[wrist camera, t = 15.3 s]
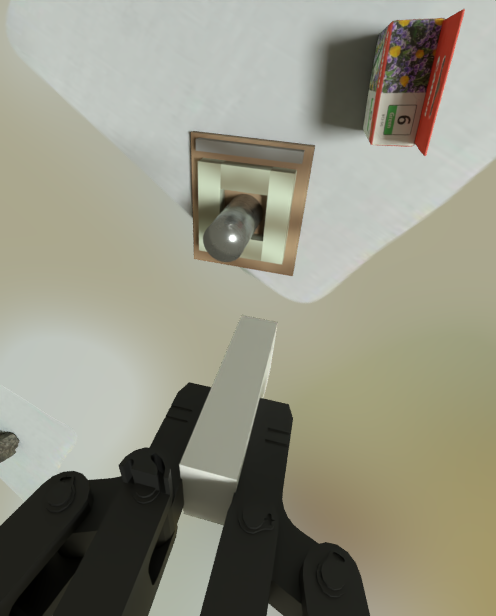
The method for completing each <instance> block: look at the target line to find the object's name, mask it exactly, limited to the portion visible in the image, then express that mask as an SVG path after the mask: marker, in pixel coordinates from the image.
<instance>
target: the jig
mask: <svg viewBox="0 0 496 616" xmlns="http://www.w3.org/2000/svg"><path fill="white" fill-rule="evenodd" d="M314 149H315V145H307V144H298V143H290V142H281V141H273V140H264V139H256V138H248V137H239V136H231V135H222V134H214V133H205V132H197V131H193V132H191V160H192V199H193V237H194V259H198V260H203V261H209V262H215V263H221V264H226V265H232V266H238V267H243V268H249V269H255V270H260V271H266V272H272V273H278V274H283V275H289V276H293V271H294V266H295V260H296V254H297V248H298V242H299V237H300V231H301V225H302V219H303V213H304V207H305V202H306V196H307V190H308V184H309V178H310V172H311V167H312V161H313V155H314ZM242 194H246V195H250V196H252V197H254V198H256V199H257V200H258V202H259V203H260V205H261V207H262V210H263V216H262V220H261V222H260V223H259V225H258V227H257V229H256V230H255V232H254V234H253V235H252V237H251V239H250V240H249V242H248V244H247V246H246V247H245V249H244V251H243V252H242V254H241V256H240V257H239V258H238V259H236V260H235V261H232V262H221V261H218V260H216V259H214V258H213V257H212V256H211V255H210V254H209V253H208V252H207V251H206V249H205V247H204V243H203V235H204V232H205V230H206V229H207V228H208V227H209V225H210V224H211V223H212V222H213V221H214V220H215V219H216V218H217V216H218V215H219V214H220V213H221V212H222V211H223V210H224V208H225V207H226V206H227V205H228V204H229V203H230V202H231V200H232V199H233V198H235V197H236V196H238V195H242Z"/></svg>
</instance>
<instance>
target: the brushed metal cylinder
mask: <svg viewBox="0 0 496 616" xmlns="http://www.w3.org/2000/svg"><path fill="white" fill-rule="evenodd" d="M262 216H263V210H262V207H261V205H260V203H259V202H258V200H257V199H256V198H254V197H252V196H250V195H246V194H242V195H238V196H236V197H235V198H233V199H232V200H231V202H230V203H229V204H228V205H227V206H226V207H225V208H224V210H223V211H222V212H221V213H220V214H219V215H218V216H217V218H216V219H215V220H214V221H213V222H212V223H211V224H210V225H209V227H208V228H207V229H206V230H205V232H204V235H203V243H204V247H205V249H206V251H207V252H208V253H209V254H210V255H211V256H212V257H213V258H214V259H216V260H218V261H221V262H232V261H235V260H236V259H238V258H239V257H240V256H241V254H242V252H243V251H244V249H245V247H246V246H247V244H248V242H249V240H250V239H251V237H252V235H253V234H254V232H255V230H256V229H257V227H258V225H259V223H260V222H261V220H262Z"/></svg>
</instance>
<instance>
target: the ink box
mask: <svg viewBox="0 0 496 616" xmlns="http://www.w3.org/2000/svg"><path fill="white" fill-rule="evenodd" d="M464 12H465V9H463V10H461V11H459V12H457V13H456V14H454V15H452V16H450V17H449V18H447V19H445V18H437V19H413V20H396V21H392V22H391V23H390V24H389V25H388V26H387V27H386V28H385V29H384V30H383V31H382V32H381V33H380V34H379V36H378V40H377V46H376V51H375V57H374V61H373V67H372V73H371V79H370V86H369V93H368V99H367V105H366V112H365V119H364V126H363V130H364V132H365V134H366V136H367V138H368V140H369V142H370V144H371V145H382V146H403V147H409V146H414V145H415V144H416V145H417V147H418V149H419V150H420V151H421V153H422V154H423V155H424V156H426V154H427V150H428V146H429V143H430V139H431V135H432V131H433V127H434V123H435V120H436V116H437V112H438V109H439V105H440V102H441V98H442V95H443V91H444V88H445V84H446V80H447V76H448V72H449V69H450V65H451V61H452V57H453V53H454V49H455V46H456V42H457V38H458V34H459V31H460V27H461V23H462V20H463V16H464Z"/></svg>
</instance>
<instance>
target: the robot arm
mask: <svg viewBox="0 0 496 616" xmlns="http://www.w3.org/2000/svg"><path fill="white" fill-rule="evenodd" d="M277 324H278V322H275V321H270V320H265V319H260V318H255V317H250V316H244V315H241V318H240V320H239V322H238V325H237V327H236V330H235V332H234V334H233V337H232V339H231V342H230V344H229V346H228V349H227V351H226V354H225V356H224V359H223V361H222V363H221V366H220V368H219V371H218V373H217V376H216V378H215V380H214V383H213V385H212V387H207V386H203V385H199V384H194V383H188V384H187V385H186V386H185V387H184V388H182V389H181V390H180V391H179V392H178V393H177V395H176V397H175V399H174V401H173V403H172V406H171V408H170V409H169V411H168V413H167V415H166V418H165V419H164V420H163V422H162V424H161V426H160V428H159V430H158V432H157V434H156V436H155V438H154V440H153V442H152V444H151V446H150V448H142V449H138V450H135V451H133V452H132V453H130V454H129V455H127V456H126V457H125V458H124V459H123V461H122V462H121V463H120V464H119V469H120V472H121V475H122V476H120V477H116V478H108V479H96V480H87V479H86V477H85V476H84V475H83V474H81V473H78V472H75V471H67V472H62V473H60V474H57V475H55V476H53V477H51V478H50V479H49V480H47V481H46V482H45V483H43V484H42V485H41V486H40V487H39V488H38V489H37V490H36V491H35V492H34V493H33V494H32V495H31V496H30V497H29V498H28V499H27V500H26V501H25V502H24V503H23V504H22V505H21V506H20V507H19V508H18V509H17V510H16V511H15V512H14V513H13V514H12V515H11V516H10V517H9V518H8V519H7V520H6V521H5V522H4V523H3V524H2V525H1V526H0V616H148V614H149V611H150V608H151V606H152V603H153V600H154V597H155V594H156V592H157V589H158V586H159V583H160V580H161V578H162V575H163V572H164V569H165V566H166V563H167V561H168V558H169V555H170V552H171V550H172V547H173V544H174V541H175V538H176V534H177V523H178V520H179V517H180V514H181V512H182V509H183V511H184V514H187V515H190V516H194V517H197V518H200V519H204V520H207V521H211V522H214V523H218V524H221V525H224V527H223V530H222V534H221V538H220V542H219V545H218V549H217V553H216V557H215V561H214V565H213V569H212V572H211V576H210V580H209V583H208V587H207V591H206V595H205V598H204V602H203V606H202V610H201V614H200V616H266V615H267V608H268V603H269V604H271V606H272V607H274V608H275V609H276V610H277V611H278V612H280V613H281V614H282V615H283V616H370V613H369V609H368V605H367V600H366V596H365V591H364V587H363V583H362V579H361V575H360V573H359V570H358V567H357V565H356V563H355V561H354V560H353V559H352V557H351V556H350V555H349V553H348V552H347V551H345V550H344V549H342V548H341V547H339V546H338V545H336V544H331V543H327V542H325V543H321V544H318V543H317V542H316V541H314V540H313V539H311V538H310V537H308V536H307V535H306V534H304V533H303V532H302V531H300V530H299V529H298V528H296V526H294V525H293V524H292V522H291V521H290V519H289V518H288V517H287V514H286V512H285V510H284V506H283V502H282V493H283V485H284V478H285V471H286V464H287V457H288V450H289V443H290V434H291V429H292V422H293V417H292V414H291V410H290V407H289V404H285V403H281V402H276V401H272V400H267V399H263V398H264V394H265V390H266V385H267V381H268V377H269V372H270V369H271V362H272V356H273V349H274V343H275V336H276V330H277Z"/></svg>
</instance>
